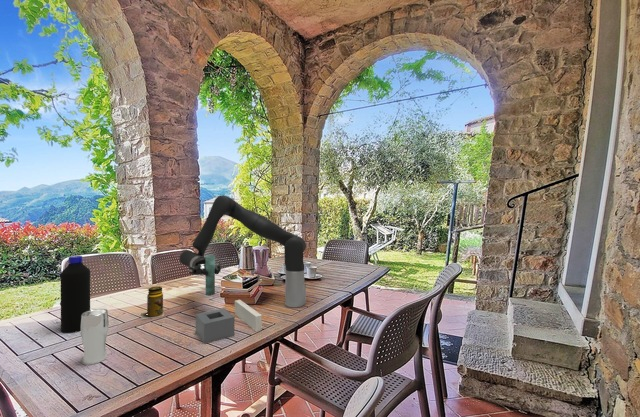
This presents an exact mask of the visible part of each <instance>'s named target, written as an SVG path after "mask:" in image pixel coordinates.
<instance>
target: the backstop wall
mask: <svg viewBox="0 0 640 417" xmlns="http://www.w3.org/2000/svg"><path fill="white" fill-rule="evenodd" d="M234 315H235V316H236V317H238V318H239V319H240V320H242V321H243V322H244V324H246V325H247V326H248V327H250V328H251V329H253V330H254V331H255V332H259V331H262V330H263V329H262V326H263V324H262V321H263V320H262V316H263V315H262V314H261V313H259V312H258V311H257V310H255V309H254V308H253V307H251V306H250V305H248V304H247V303H245V302H244V301H243V300H241V299H237V300H234Z"/></svg>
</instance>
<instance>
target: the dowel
mask: <svg viewBox="0 0 640 417" xmlns="http://www.w3.org/2000/svg"><path fill="white" fill-rule="evenodd" d="M205 258H206V270H208V276H205V295H206V296H214V295H215V293H216V282H215V281H216V274H215V265H216V262H215V261H216V256H215V254H208V255H205Z"/></svg>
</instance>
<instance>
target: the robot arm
mask: <svg viewBox="0 0 640 417" xmlns="http://www.w3.org/2000/svg"><path fill="white" fill-rule="evenodd" d="M223 216H227V217H230V218H233V219H234V220H236V221H238V222H240V223H241V224H242V225H243V226H244V227H245V228H246V229H248V230H249V231H251V232H252V233H254V234H255V235H257V236H260V237H262V238H263V239H266V240H270V241H273V242H276V243H278V244H280V245H282V246H284V250H283V251H284V252H283V253H284V254H283V255H284V266H285V286H284V288H285V289H284V291H285V292H284V294H285V295H284V298H285V299H284V303H285V304H284V305H285V306H286V307H288V308H300V307H303V306H304V305H306V299H307V298H306V295H307V294H306V292H307V289H306V288H307V285H306V284H305V263H304V252H305V250H306V249H307V243H306V241H305V240H304V238H303V237H300V236H298V235H297V234H294V233H292V232H290V231H287V230H286V229H285V228H282V227H281V226H280V225H277V224H276V223H274V222H273V221H271V220H270V219H269V218H266V217H264V216H263V215H261V214H259V213H256V212H255V211H252V210H249V209H247V208H245V207H244V206H243V205H241V204H240V203H238V202H237V201H236V200H234V199H233V198H232V197H229V196H227V195H224V194H223V195H218V196H217V197H216V198H215V199H214V201H213V203H212V205H211V208H210V210H209V212H208V215H207V217H206V219H205V221H204V224H203V225H202V227H201V229H200V230H199V232H198V234H197V235H196V237H195V238H194V240H193V241H192V244H191V245H192V247H193V248H194V249H196V251H198V253H196V252H193V251H192V250H189V249H188V250H184V251H182V252H181V254H179V263H180V264H182V265H184V266H187V267H188V268H189V270H188V273H189V274H191V275H195V276H205V277H206V276H208V270H206V256H204V255H205V252H206V251H207V248H208V246H209V245H210V243H211V242H212V240H213V238H214V236H215V233H216V230H217V226H218V224H219V222H220V220H221V219H222V217H223ZM221 270H222V263H220V262H219V263H217V264H215V275H219V273H220V272H221Z"/></svg>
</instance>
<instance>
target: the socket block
mask: <svg viewBox="0 0 640 417" xmlns="http://www.w3.org/2000/svg"><path fill="white" fill-rule="evenodd" d="M195 333H196V334H197V336H198V337H199V339H200V340H201V342H202V343H203V344H204V345H205V344H208V343H212V342H214V341H219V340H222V339H223V340H224V339H227V338H231V337H234V336H235V316H234V314H232V313H230V311H229V310H227V309H226V308H225V307H222V308H218V309H213V310H210V311H209V310H208V311H205V312H200V313H195Z"/></svg>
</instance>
